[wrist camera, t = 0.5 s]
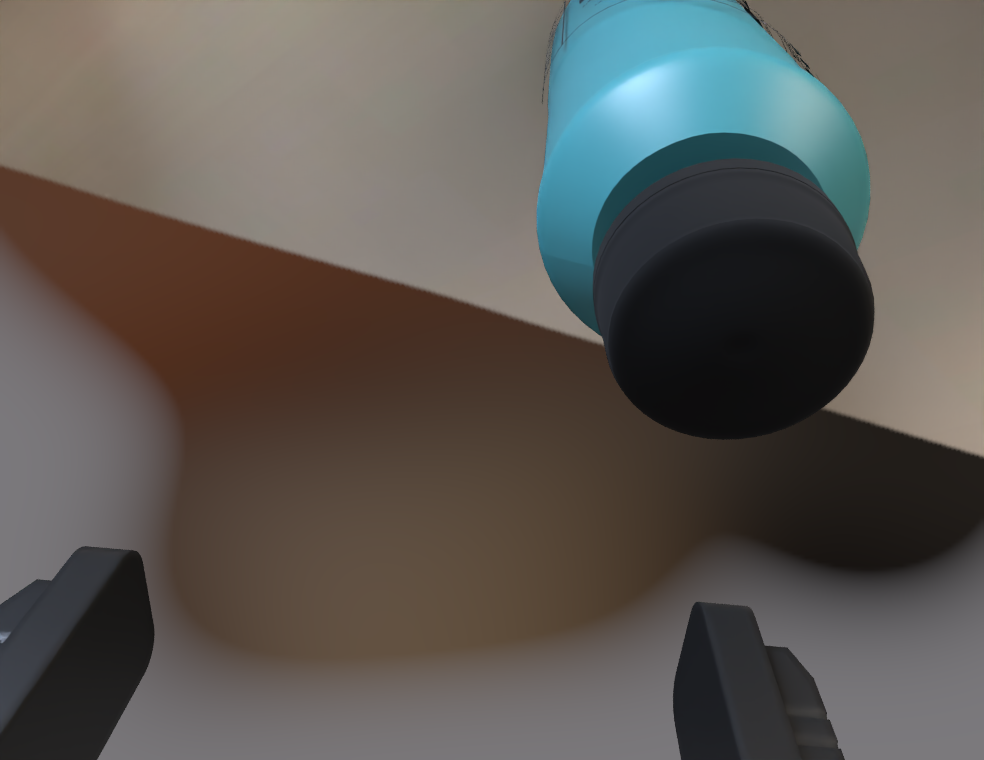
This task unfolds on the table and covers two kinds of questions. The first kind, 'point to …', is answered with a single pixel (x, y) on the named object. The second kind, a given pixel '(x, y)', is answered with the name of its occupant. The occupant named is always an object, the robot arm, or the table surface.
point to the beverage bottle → (704, 214)
